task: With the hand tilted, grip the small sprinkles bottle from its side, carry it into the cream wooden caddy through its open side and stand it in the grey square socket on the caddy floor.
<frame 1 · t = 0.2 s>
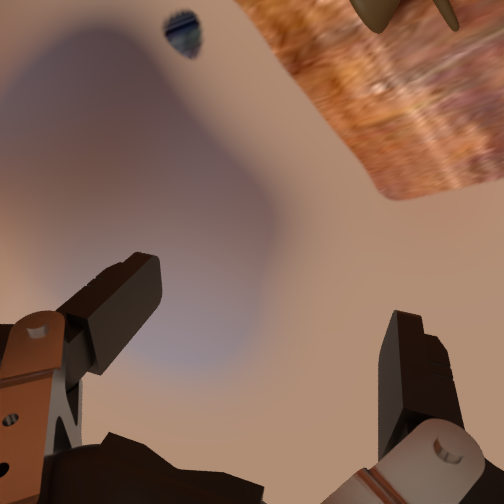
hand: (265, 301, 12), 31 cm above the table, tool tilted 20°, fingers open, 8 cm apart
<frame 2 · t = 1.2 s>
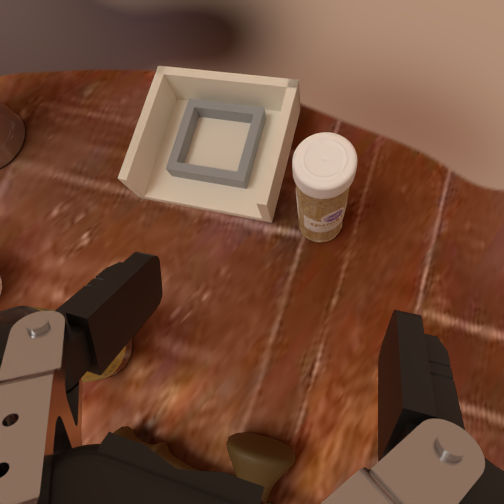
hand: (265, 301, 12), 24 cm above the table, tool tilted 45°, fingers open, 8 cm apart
sauce bottle: (107, 347, 38), on the table
sprinkles bottle: (320, 223, 38), on the table
caddy: (219, 154, 42), on the table
kendama: (218, 476, 34), on the table
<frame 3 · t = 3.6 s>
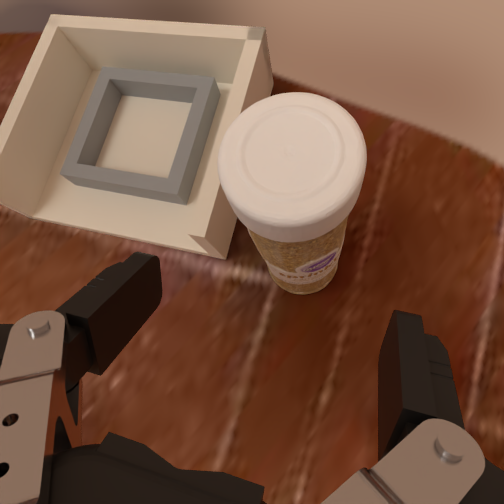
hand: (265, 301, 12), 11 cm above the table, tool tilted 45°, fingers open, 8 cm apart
sprinkles bottle: (302, 261, 24), on the table
caddy: (150, 151, 28), on the table
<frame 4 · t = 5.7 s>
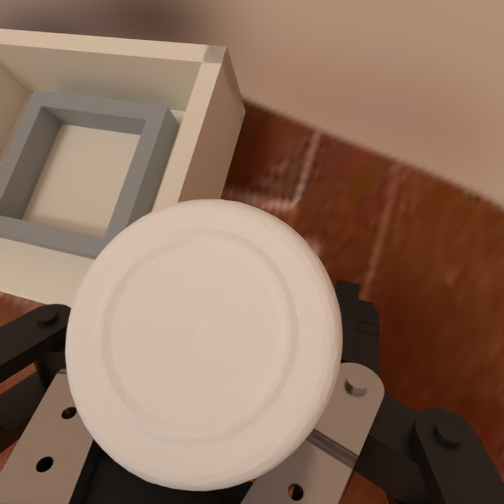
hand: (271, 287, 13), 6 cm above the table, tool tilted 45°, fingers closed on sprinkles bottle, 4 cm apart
sprinkles bottle: (276, 345, 18), on the table, touching gripper
caddy: (94, 194, 22), on the table
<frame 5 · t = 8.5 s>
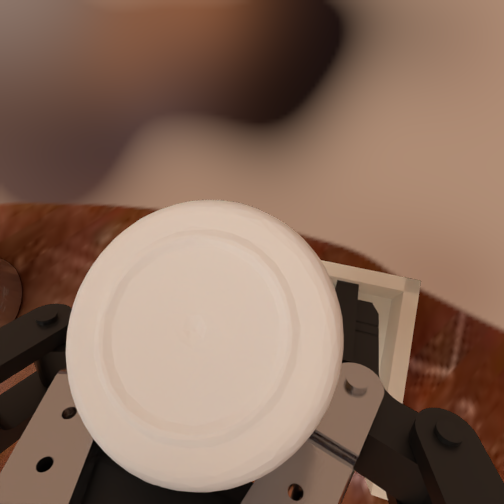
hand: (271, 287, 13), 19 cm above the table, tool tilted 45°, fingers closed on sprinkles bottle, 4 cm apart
sprinkles bottle: (275, 345, 18), point 12 cm above the table, touching gripper
caddy: (290, 351, 30), on the table
when the fingers open (8 cm above the table, at t = 11.3 s): sprinkles bottle moves 1 cm, resting on caddy.
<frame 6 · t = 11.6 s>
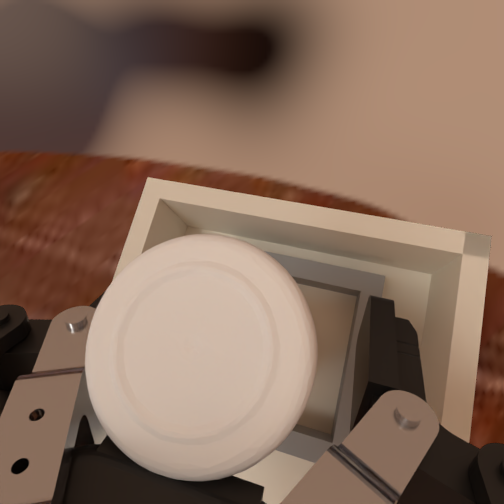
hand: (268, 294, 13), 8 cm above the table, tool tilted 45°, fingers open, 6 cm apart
sprinkles bottle: (272, 348, 20), point 1 cm above the table, touching caddy
caddy: (277, 354, 20), on the table
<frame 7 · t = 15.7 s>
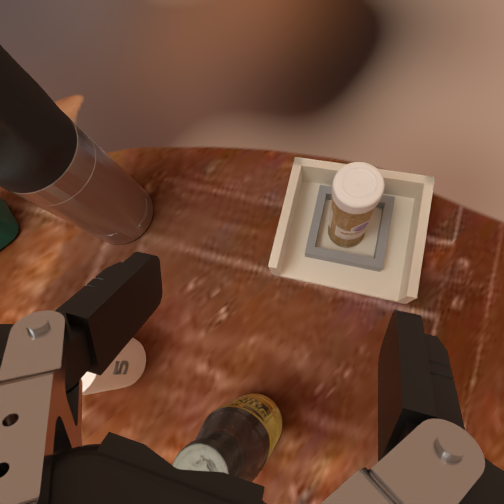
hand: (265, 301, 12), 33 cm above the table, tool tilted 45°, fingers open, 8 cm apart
sauce bottle: (255, 420, 42), on the table
candle: (124, 361, 46), on the table
sprinkles bottle: (345, 231, 45), point 1 cm above the table, touching caddy
caddy: (347, 235, 46), on the table
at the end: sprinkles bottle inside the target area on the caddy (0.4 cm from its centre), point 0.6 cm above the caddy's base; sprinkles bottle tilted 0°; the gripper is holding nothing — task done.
